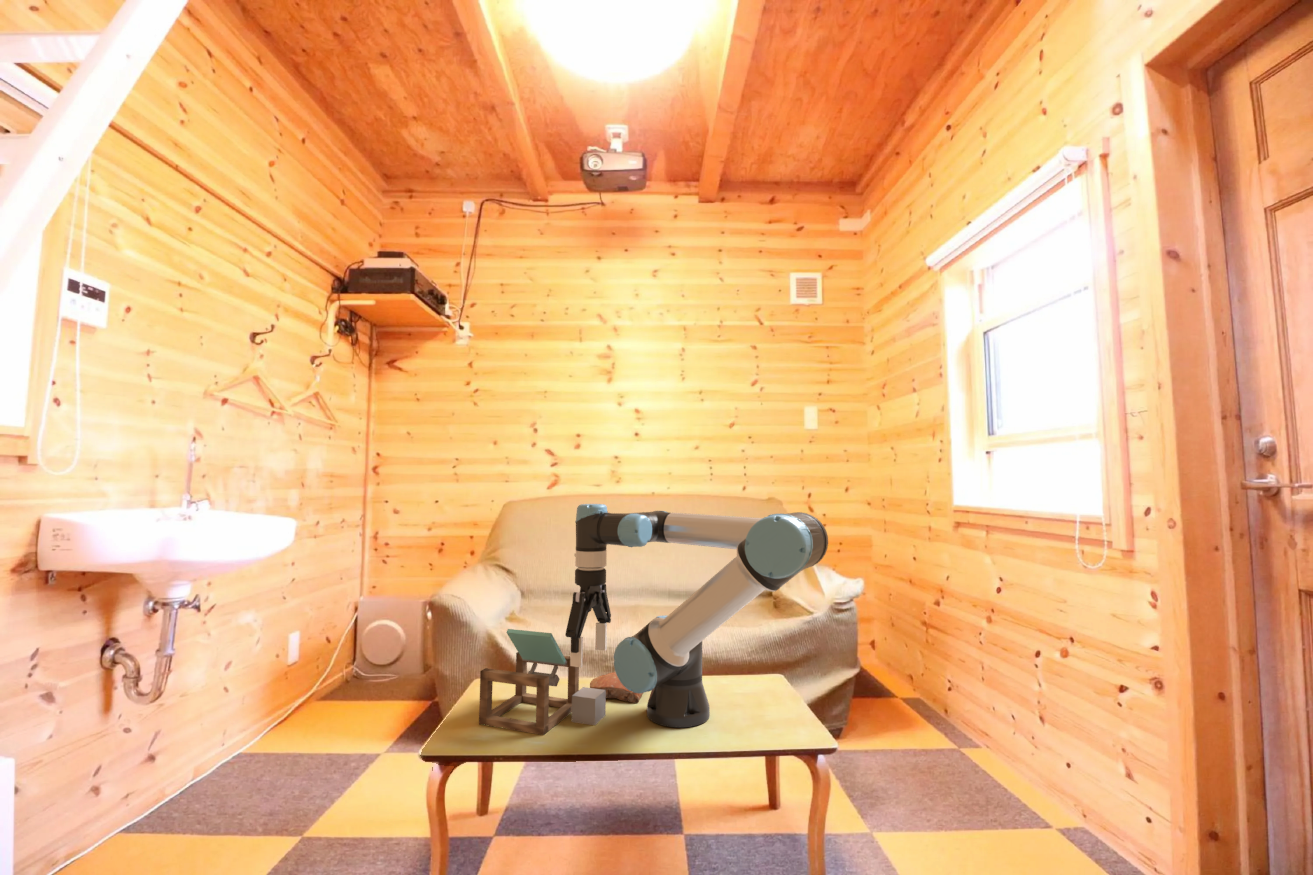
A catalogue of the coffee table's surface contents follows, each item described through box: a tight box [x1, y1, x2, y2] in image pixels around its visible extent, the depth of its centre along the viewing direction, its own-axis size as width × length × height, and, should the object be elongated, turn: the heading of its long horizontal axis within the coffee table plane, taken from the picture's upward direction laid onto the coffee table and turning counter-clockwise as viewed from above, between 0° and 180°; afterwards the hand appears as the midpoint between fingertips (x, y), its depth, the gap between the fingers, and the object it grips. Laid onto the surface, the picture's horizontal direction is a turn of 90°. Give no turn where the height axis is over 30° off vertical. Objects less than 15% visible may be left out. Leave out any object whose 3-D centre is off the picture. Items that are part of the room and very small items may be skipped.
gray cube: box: [571, 686, 607, 726], centre depth 135 cm, size 6×6×6 cm
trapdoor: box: [506, 628, 567, 688], centre depth 139 cm, size 12×15×5 cm
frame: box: [478, 651, 580, 736], centre depth 137 cm, size 17×17×12 cm
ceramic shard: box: [589, 671, 644, 704], centre depth 152 cm, size 15×6×15 cm
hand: (589, 657), depth 136 cm, fingers open, 13 cm apart
